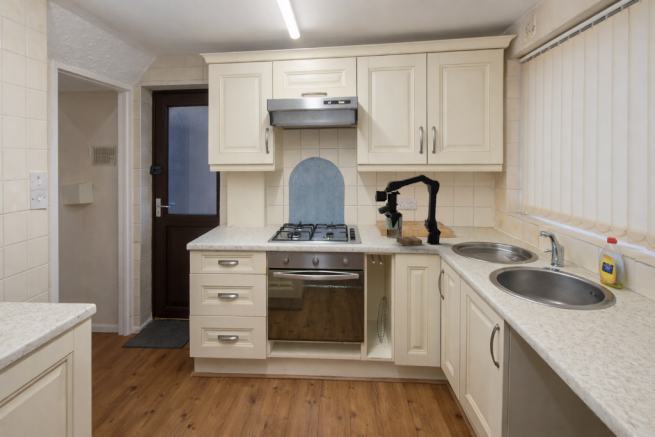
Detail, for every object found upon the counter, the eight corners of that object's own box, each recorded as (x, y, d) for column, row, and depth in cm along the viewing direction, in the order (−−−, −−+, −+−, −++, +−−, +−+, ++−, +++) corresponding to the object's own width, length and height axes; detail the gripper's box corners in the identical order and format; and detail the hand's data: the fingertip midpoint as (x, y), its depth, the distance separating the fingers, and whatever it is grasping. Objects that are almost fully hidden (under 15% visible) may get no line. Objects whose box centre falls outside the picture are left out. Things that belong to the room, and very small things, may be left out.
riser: (414, 240, 232) (414, 236, 231) (421, 245, 220) (422, 240, 220) (396, 241, 230) (396, 236, 229) (403, 245, 218) (403, 241, 218)
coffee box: (402, 237, 243) (403, 213, 241) (398, 238, 238) (399, 214, 235) (389, 235, 248) (390, 212, 245) (386, 237, 243) (386, 213, 240)
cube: (394, 227, 225) (394, 218, 224) (397, 229, 219) (397, 219, 218) (385, 227, 224) (385, 218, 223) (388, 229, 218) (388, 219, 217)
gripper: (375, 200, 227) (374, 224, 229) (384, 203, 208) (383, 230, 211) (391, 200, 228) (391, 224, 231) (402, 203, 210) (401, 229, 213)
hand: (391, 226), depth 221 cm, fingers closed on cube, 6 cm apart
